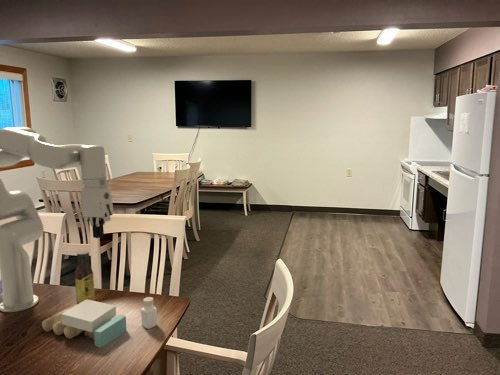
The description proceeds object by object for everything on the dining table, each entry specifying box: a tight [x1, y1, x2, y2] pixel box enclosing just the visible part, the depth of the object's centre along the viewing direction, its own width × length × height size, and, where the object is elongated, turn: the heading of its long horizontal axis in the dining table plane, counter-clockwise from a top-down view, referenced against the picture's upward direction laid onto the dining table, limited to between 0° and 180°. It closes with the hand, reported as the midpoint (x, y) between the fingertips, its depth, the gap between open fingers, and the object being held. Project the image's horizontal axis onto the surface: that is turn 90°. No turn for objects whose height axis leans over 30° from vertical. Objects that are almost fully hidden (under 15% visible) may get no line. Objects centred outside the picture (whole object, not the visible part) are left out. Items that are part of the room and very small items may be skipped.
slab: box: [61, 299, 117, 332], centre depth 128 cm, size 12×11×4 cm
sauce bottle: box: [74, 250, 95, 305], centre depth 146 cm, size 7×6×20 cm
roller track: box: [41, 304, 89, 340], centre depth 129 cm, size 22×12×4 cm, turn 65°
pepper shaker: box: [140, 296, 158, 330], centre depth 131 cm, size 4×4×10 cm
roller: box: [87, 320, 110, 340], centre depth 127 cm, size 7×4×4 cm
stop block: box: [93, 314, 127, 348], centre depth 124 cm, size 2×11×5 cm, turn 155°
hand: (98, 236), depth 132 cm, fingers closed
